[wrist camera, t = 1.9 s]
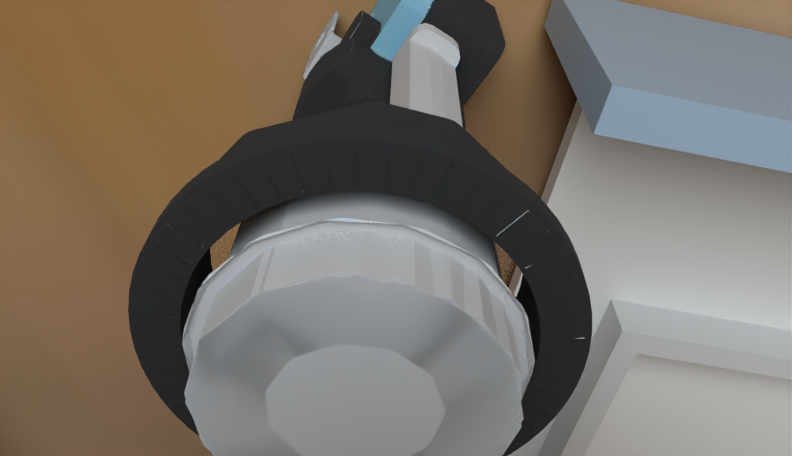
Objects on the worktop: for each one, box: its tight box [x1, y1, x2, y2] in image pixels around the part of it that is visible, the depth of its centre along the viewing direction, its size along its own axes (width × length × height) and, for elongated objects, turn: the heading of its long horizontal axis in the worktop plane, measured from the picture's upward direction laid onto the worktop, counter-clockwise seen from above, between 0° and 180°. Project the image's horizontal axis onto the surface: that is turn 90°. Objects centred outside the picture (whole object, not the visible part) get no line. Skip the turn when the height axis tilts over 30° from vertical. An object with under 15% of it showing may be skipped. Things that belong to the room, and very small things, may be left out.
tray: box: [508, 0, 792, 456], centre depth 18 cm, size 18×16×5 cm
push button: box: [128, 0, 592, 456], centre depth 12 cm, size 7×5×10 cm
